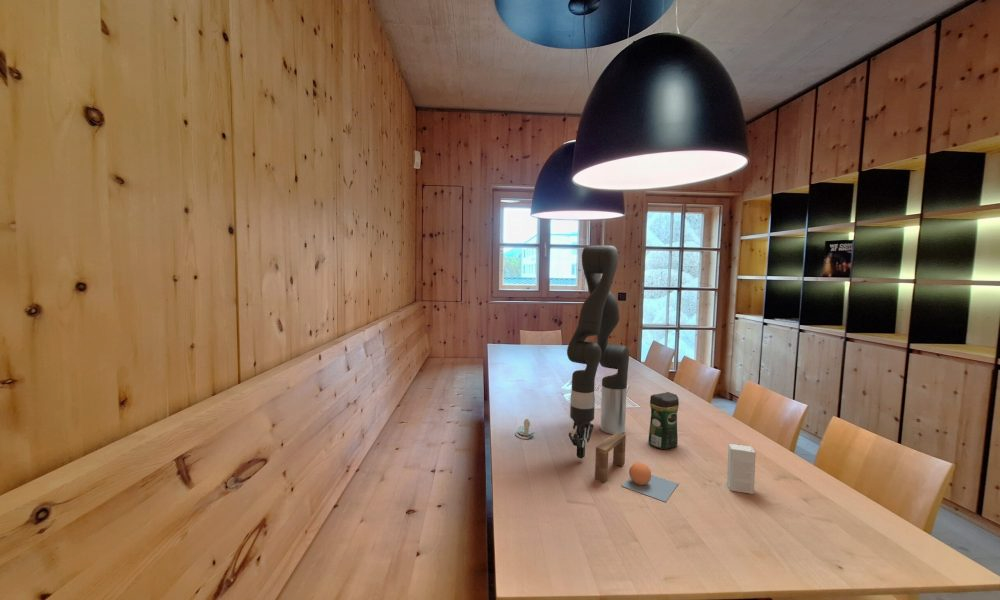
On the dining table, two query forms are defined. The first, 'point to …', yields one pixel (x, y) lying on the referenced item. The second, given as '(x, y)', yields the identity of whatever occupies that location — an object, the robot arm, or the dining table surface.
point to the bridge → (602, 455)
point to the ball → (640, 473)
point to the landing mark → (653, 488)
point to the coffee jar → (663, 420)
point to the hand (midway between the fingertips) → (580, 457)
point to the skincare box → (741, 468)
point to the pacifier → (524, 430)
